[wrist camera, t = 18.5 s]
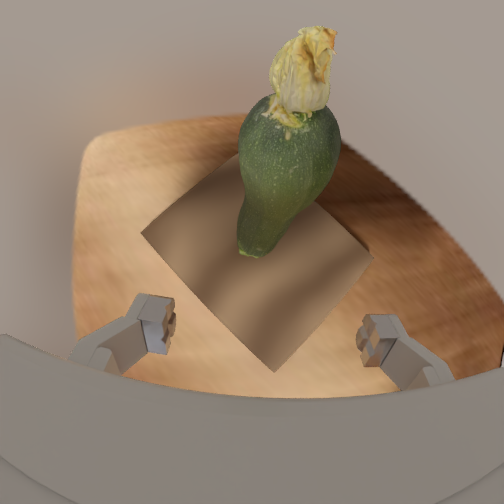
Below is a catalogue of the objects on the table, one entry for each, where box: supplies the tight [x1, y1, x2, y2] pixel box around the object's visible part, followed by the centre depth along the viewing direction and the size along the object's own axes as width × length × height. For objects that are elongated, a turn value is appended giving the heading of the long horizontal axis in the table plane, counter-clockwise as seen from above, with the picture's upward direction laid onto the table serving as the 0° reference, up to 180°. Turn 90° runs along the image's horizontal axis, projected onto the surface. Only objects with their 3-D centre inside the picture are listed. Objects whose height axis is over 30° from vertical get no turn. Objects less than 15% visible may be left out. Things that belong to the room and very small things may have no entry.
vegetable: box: [237, 26, 341, 258], centre depth 14 cm, size 4×4×20 cm
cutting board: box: [141, 152, 374, 373], centre depth 25 cm, size 17×14×2 cm
